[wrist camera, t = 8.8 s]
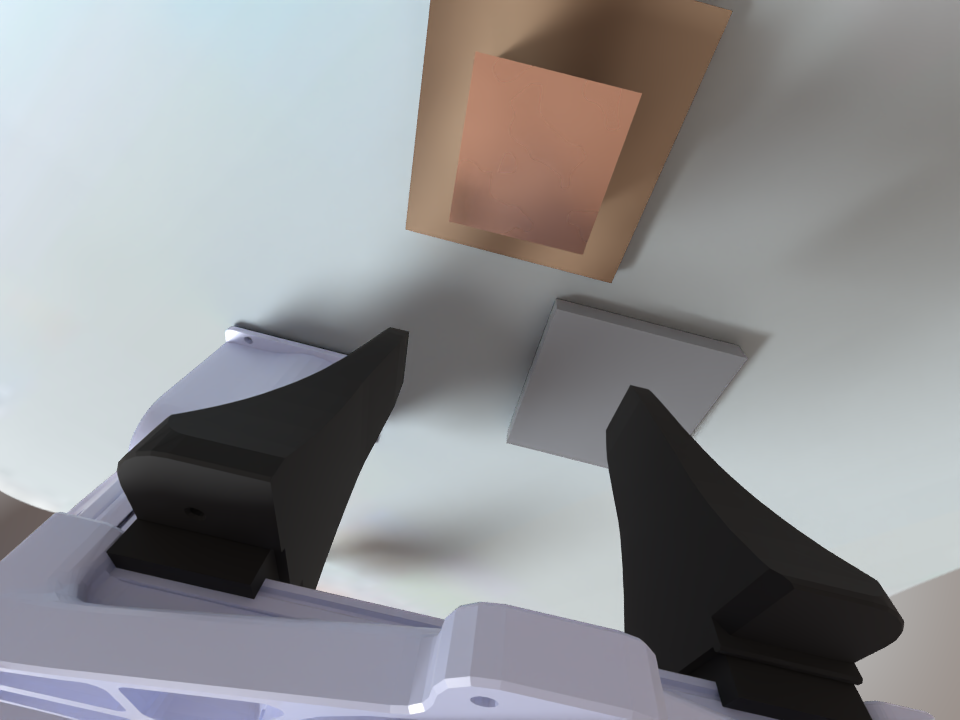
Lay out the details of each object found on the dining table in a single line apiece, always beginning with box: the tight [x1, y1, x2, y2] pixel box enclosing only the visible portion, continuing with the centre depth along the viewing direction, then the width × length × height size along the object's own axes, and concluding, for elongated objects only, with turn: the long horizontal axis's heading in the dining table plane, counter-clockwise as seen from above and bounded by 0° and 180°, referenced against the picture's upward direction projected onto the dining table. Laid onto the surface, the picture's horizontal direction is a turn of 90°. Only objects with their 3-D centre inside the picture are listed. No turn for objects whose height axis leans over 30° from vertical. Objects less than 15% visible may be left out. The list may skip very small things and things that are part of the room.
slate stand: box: [507, 298, 748, 469], centre depth 24 cm, size 10×10×1 cm
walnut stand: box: [406, 0, 733, 283], centre depth 17 cm, size 10×10×1 cm
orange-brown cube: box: [449, 51, 642, 255], centre depth 14 cm, size 5×5×5 cm
